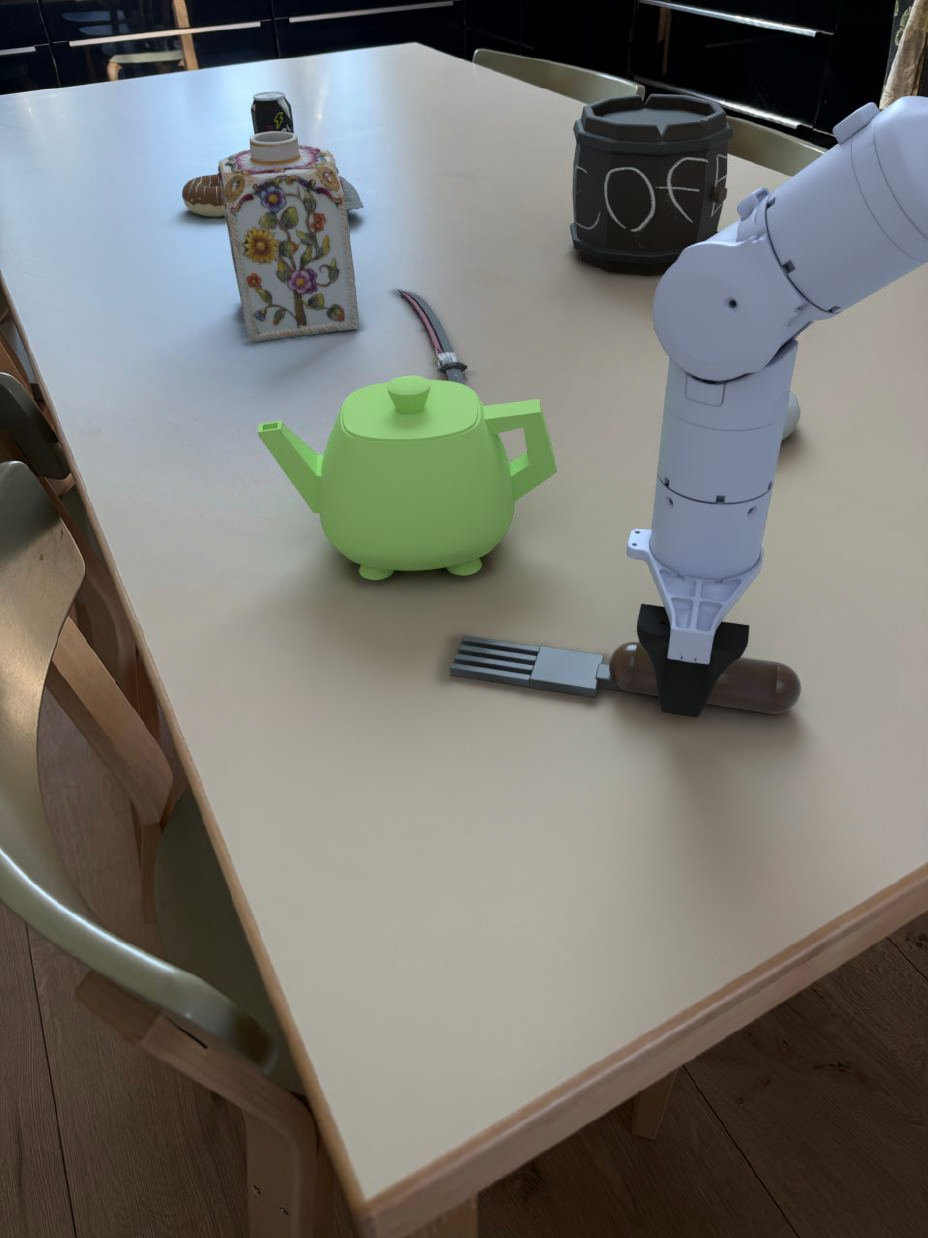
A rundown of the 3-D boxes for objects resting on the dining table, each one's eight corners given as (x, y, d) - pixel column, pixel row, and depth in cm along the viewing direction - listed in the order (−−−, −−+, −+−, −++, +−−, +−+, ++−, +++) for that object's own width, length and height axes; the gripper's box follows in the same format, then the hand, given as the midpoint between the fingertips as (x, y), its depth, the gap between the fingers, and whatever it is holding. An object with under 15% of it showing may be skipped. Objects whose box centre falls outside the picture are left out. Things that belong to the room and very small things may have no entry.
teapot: (270, 605, 67) (237, 439, 59) (290, 500, 77) (264, 347, 69) (565, 591, 67) (572, 423, 59) (544, 487, 77) (548, 333, 69)
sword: (486, 405, 88) (486, 392, 87) (453, 409, 87) (452, 396, 87) (422, 294, 112) (422, 283, 111) (396, 297, 111) (395, 286, 111)
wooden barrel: (676, 291, 108) (692, 136, 98) (540, 261, 117) (543, 116, 107) (746, 244, 119) (767, 101, 109) (617, 220, 128) (626, 85, 118)
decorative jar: (240, 303, 110) (209, 127, 98) (343, 291, 112) (324, 117, 100) (248, 345, 101) (215, 156, 89) (361, 331, 103) (342, 144, 91)
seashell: (296, 206, 137) (291, 168, 134) (354, 200, 139) (351, 162, 136) (305, 233, 128) (300, 192, 125) (368, 226, 130) (365, 186, 126)
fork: (796, 692, 58) (805, 654, 57) (795, 730, 56) (805, 691, 54) (463, 642, 63) (461, 605, 61) (449, 675, 61) (447, 637, 59)
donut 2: (169, 215, 136) (162, 184, 134) (219, 194, 143) (214, 165, 141) (228, 224, 132) (223, 193, 129) (277, 203, 139) (273, 173, 137)
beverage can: (307, 179, 148) (296, 90, 140) (288, 190, 144) (275, 99, 136) (274, 176, 150) (262, 89, 142) (254, 187, 146) (240, 97, 138)
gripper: (651, 402, 56) (633, 593, 64) (614, 545, 45) (597, 752, 53) (781, 413, 54) (744, 608, 62) (774, 564, 43) (731, 774, 52)
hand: (685, 675), depth 58 cm, fingers open, 5 cm apart
